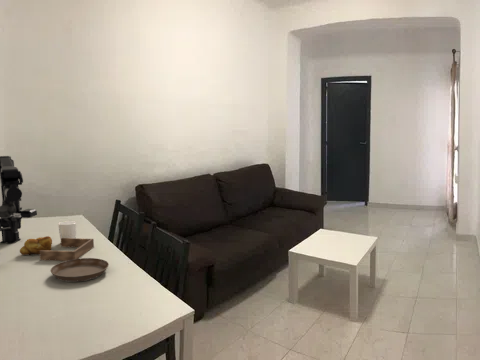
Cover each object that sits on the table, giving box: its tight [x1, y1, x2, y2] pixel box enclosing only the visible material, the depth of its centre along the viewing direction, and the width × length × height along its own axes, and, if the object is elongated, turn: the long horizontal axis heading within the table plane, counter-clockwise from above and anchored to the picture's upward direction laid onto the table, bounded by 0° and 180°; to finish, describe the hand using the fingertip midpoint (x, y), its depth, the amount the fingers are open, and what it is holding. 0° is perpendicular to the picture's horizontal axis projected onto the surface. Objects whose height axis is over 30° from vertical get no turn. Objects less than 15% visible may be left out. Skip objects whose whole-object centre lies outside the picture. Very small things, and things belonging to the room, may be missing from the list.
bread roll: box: [19, 235, 53, 256], centre depth 173 cm, size 13×10×8 cm
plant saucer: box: [50, 257, 110, 283], centre depth 149 cm, size 21×21×3 cm
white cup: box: [58, 220, 77, 241], centre depth 187 cm, size 8×8×10 cm
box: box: [39, 237, 95, 262], centre depth 173 cm, size 15×19×4 cm
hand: (14, 231), depth 173 cm, fingers closed
